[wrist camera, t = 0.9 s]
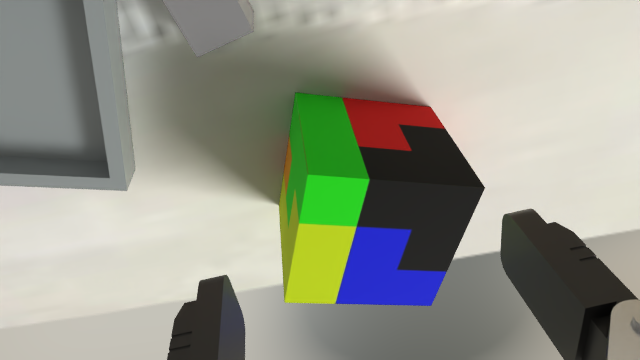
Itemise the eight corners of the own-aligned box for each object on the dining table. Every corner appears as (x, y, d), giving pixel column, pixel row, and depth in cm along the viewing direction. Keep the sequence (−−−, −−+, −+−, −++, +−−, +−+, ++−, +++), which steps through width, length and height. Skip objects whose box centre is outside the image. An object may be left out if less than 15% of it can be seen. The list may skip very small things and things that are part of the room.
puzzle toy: (395, 212, 39) (431, 305, 31) (278, 204, 37) (284, 302, 29) (430, 106, 34) (484, 187, 26) (295, 92, 32) (307, 174, 24)
